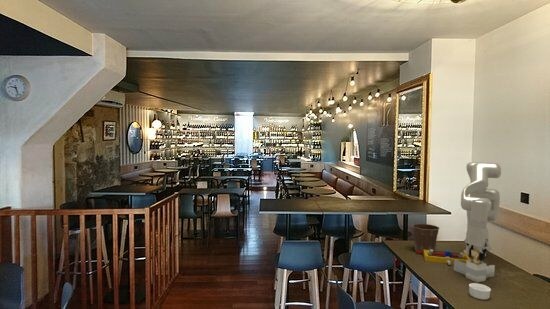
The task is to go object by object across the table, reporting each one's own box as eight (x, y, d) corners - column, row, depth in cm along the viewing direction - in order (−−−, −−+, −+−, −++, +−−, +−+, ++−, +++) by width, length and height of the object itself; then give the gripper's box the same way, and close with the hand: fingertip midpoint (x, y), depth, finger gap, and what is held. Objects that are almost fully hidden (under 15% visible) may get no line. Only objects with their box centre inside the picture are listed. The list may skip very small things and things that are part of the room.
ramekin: (482, 292, 170) (483, 283, 170) (494, 300, 161) (495, 291, 161) (464, 291, 170) (464, 282, 170) (475, 300, 161) (476, 290, 161)
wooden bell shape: (475, 269, 189) (476, 248, 188) (484, 272, 184) (485, 251, 183) (467, 270, 187) (468, 249, 186) (476, 273, 182) (477, 252, 181)
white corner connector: (471, 267, 203) (472, 251, 202) (499, 278, 187) (500, 261, 187) (449, 270, 197) (450, 254, 196) (476, 282, 181) (477, 264, 181)
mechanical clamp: (416, 244, 226) (469, 249, 218) (415, 253, 226) (468, 259, 218) (419, 252, 209) (476, 259, 200) (418, 263, 209) (475, 270, 200)
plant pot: (405, 248, 236) (406, 224, 235) (425, 246, 241) (426, 222, 240) (423, 256, 220) (424, 230, 220) (444, 254, 226) (445, 228, 225)
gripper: (458, 220, 191) (457, 254, 191) (488, 228, 175) (486, 264, 176) (469, 219, 193) (467, 252, 194) (499, 227, 177) (497, 263, 178)
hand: (476, 258), depth 185 cm, fingers closed on wooden bell shape, 5 cm apart
